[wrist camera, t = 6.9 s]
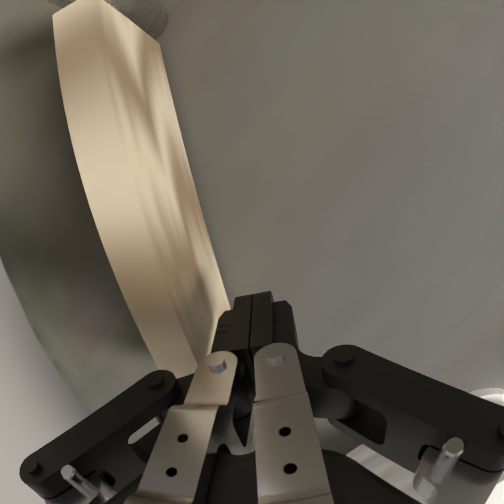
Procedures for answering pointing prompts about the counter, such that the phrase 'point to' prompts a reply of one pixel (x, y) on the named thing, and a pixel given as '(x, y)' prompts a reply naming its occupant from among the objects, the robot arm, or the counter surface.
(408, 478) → the plate stack
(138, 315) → the gate
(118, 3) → the hinge post
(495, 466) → the robot arm
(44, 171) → the counter surface
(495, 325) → the counter surface
